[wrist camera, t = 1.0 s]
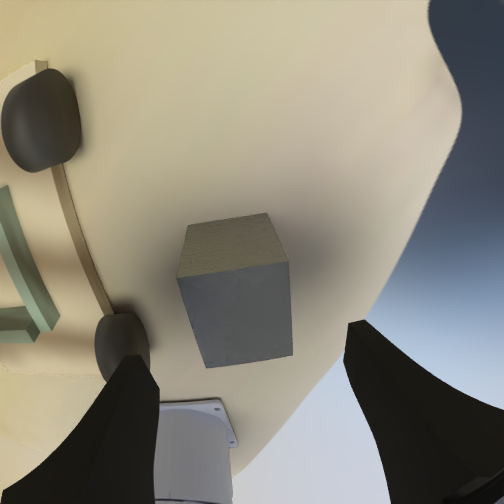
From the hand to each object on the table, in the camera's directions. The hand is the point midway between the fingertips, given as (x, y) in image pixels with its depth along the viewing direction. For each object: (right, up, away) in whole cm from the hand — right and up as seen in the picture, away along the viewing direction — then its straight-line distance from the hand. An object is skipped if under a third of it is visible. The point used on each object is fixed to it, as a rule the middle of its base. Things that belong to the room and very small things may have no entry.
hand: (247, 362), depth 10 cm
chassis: (-16, +4, +4) cm, 17 cm away
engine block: (-1, +3, +6) cm, 7 cm away
